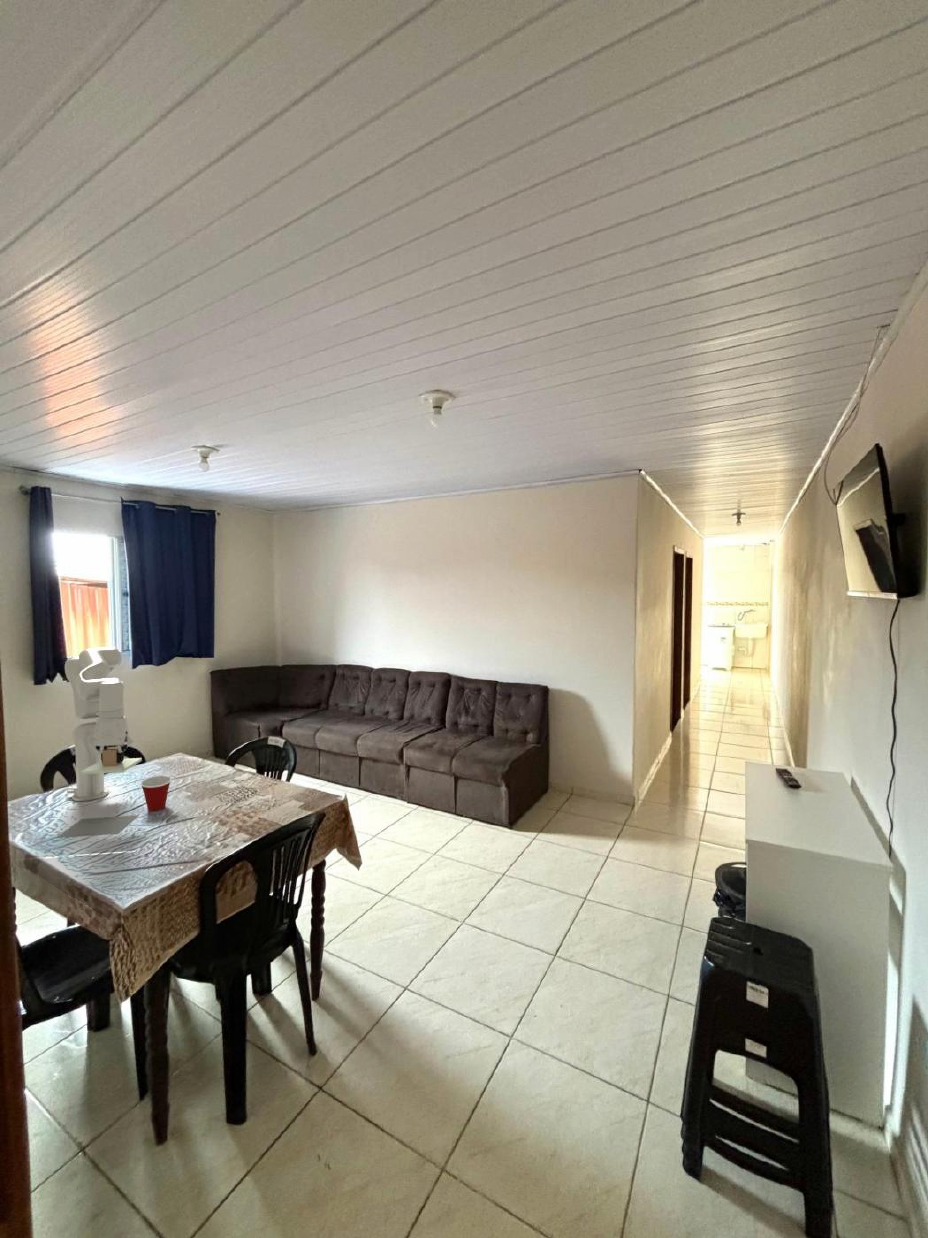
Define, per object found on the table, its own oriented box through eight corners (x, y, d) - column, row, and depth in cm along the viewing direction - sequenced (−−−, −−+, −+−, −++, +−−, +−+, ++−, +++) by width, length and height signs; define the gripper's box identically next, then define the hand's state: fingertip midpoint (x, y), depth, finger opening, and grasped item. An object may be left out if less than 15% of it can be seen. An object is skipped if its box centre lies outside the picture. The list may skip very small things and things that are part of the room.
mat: (55, 839, 180) (55, 837, 180) (81, 820, 196) (81, 818, 195) (118, 835, 183) (118, 833, 183) (138, 816, 199) (138, 815, 199)
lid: (81, 774, 184) (80, 754, 184) (102, 761, 198) (102, 744, 198) (123, 772, 186) (122, 753, 186) (141, 760, 200) (141, 742, 200)
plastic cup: (141, 817, 198) (140, 787, 197) (140, 808, 207) (139, 779, 206) (173, 811, 204) (173, 781, 204) (170, 802, 213) (170, 773, 212)
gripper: (81, 717, 187) (82, 766, 188) (130, 716, 189) (131, 765, 190) (92, 712, 194) (94, 760, 195) (140, 711, 197) (141, 758, 197)
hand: (112, 762), depth 192 cm, fingers closed on lid, 4 cm apart
